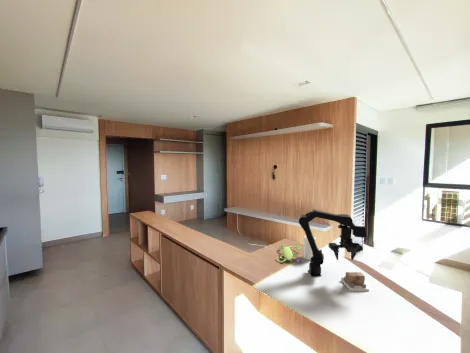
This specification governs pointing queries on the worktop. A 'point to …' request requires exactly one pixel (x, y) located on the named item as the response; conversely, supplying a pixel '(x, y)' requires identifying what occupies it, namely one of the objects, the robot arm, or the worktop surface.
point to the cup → (307, 249)
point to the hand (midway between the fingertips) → (344, 259)
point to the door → (354, 278)
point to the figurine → (288, 253)
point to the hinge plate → (355, 288)
